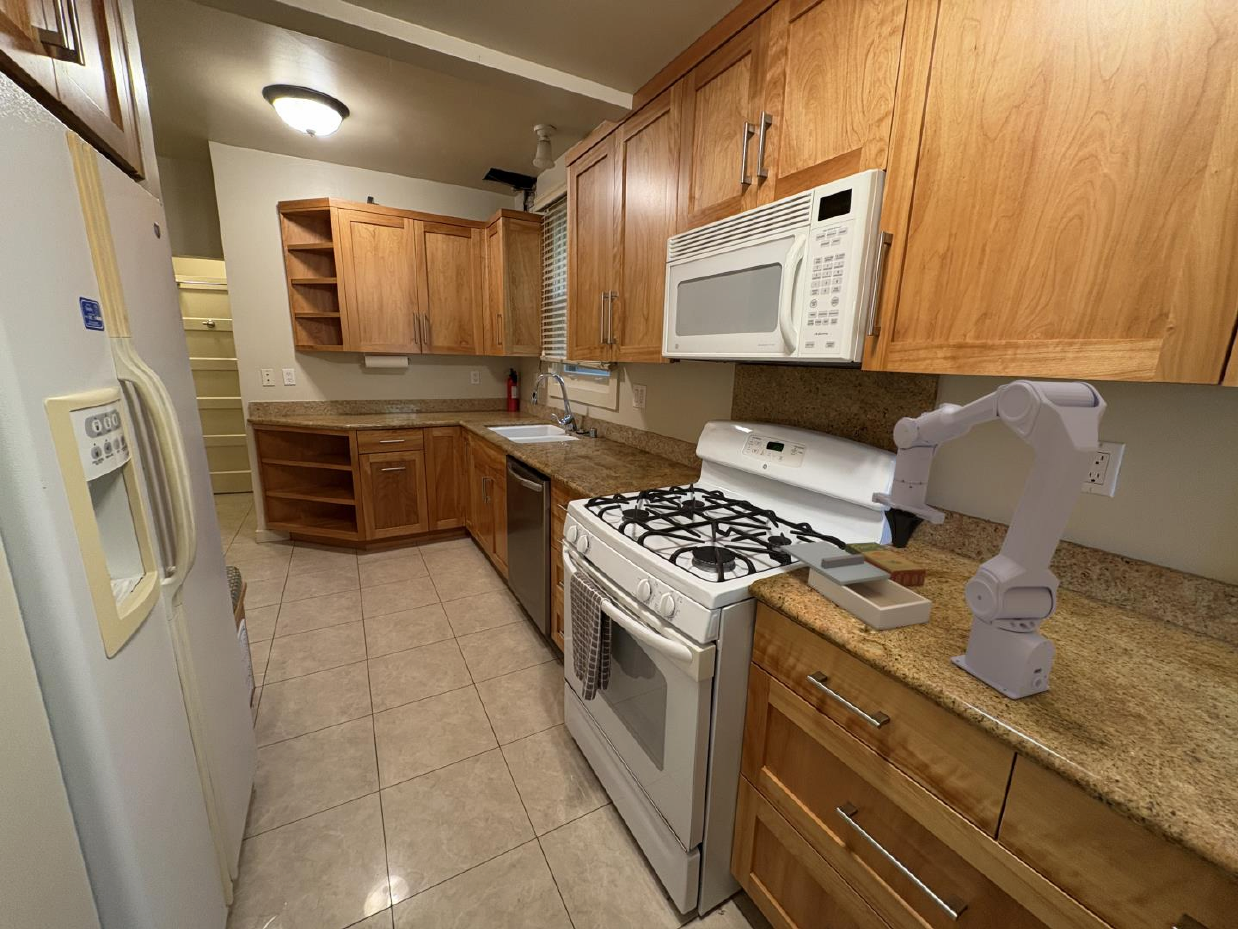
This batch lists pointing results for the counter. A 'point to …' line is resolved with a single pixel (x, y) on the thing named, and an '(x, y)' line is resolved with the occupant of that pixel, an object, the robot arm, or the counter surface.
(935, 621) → the counter surface
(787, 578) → the counter surface
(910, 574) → the carton
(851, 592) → the base
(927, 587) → the counter surface
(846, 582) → the lid
